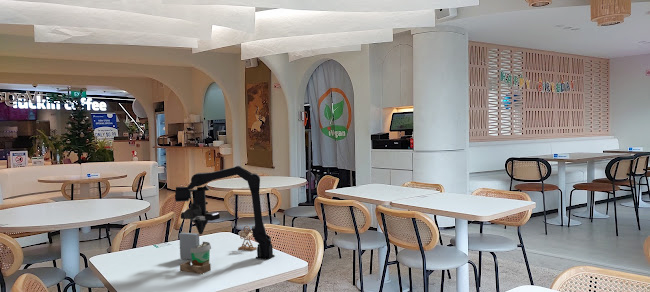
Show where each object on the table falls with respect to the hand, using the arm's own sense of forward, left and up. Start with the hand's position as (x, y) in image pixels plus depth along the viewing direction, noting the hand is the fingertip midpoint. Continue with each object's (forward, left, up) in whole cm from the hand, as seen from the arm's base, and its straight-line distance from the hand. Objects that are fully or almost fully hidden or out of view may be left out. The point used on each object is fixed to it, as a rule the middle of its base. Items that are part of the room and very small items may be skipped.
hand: (200, 234), depth 212 cm
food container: (-6, +6, -13) cm, 16 cm away
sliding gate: (+9, -2, -13) cm, 16 cm away
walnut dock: (-6, +12, -13) cm, 19 cm away
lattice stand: (-7, -26, -13) cm, 30 cm away
